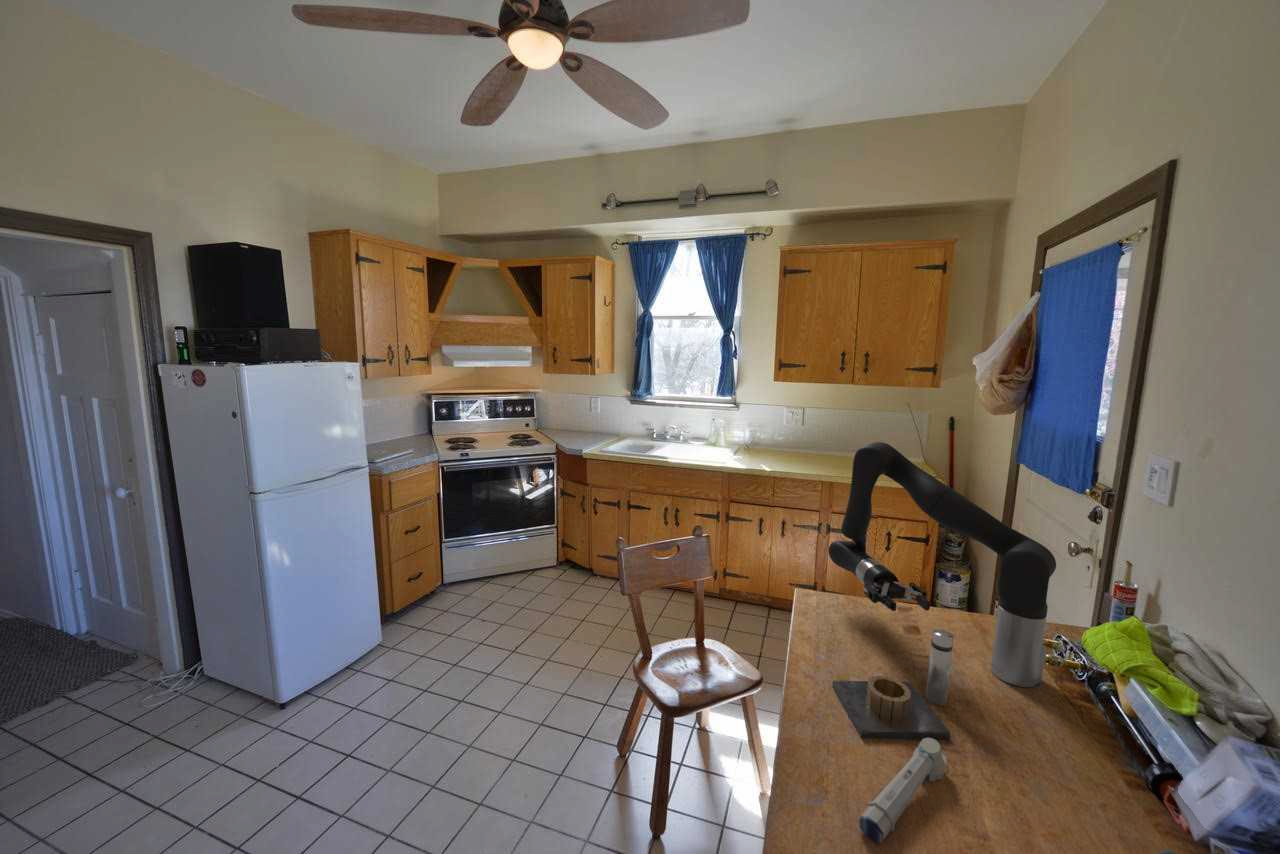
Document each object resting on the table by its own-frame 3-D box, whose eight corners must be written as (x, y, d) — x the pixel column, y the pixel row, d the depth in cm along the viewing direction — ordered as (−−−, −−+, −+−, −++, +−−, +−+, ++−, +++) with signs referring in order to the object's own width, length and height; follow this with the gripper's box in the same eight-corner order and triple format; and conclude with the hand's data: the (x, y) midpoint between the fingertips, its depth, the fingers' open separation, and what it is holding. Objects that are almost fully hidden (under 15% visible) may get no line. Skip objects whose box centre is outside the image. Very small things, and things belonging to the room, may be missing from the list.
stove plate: (908, 687, 120) (911, 666, 119) (949, 739, 104) (952, 714, 103) (832, 686, 120) (833, 665, 119) (861, 738, 104) (863, 713, 103)
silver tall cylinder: (939, 693, 118) (946, 629, 115) (950, 705, 114) (957, 639, 111) (921, 693, 118) (928, 628, 115) (931, 705, 114) (939, 639, 111)
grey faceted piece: (854, 808, 84) (923, 723, 98) (854, 840, 85) (922, 751, 100) (886, 832, 80) (953, 739, 94) (885, 865, 81) (951, 768, 96)
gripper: (852, 564, 139) (885, 593, 123) (902, 563, 140) (941, 592, 124) (849, 590, 140) (882, 622, 124) (899, 589, 141) (937, 620, 126)
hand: (911, 607), depth 124 cm, fingers open, 8 cm apart
